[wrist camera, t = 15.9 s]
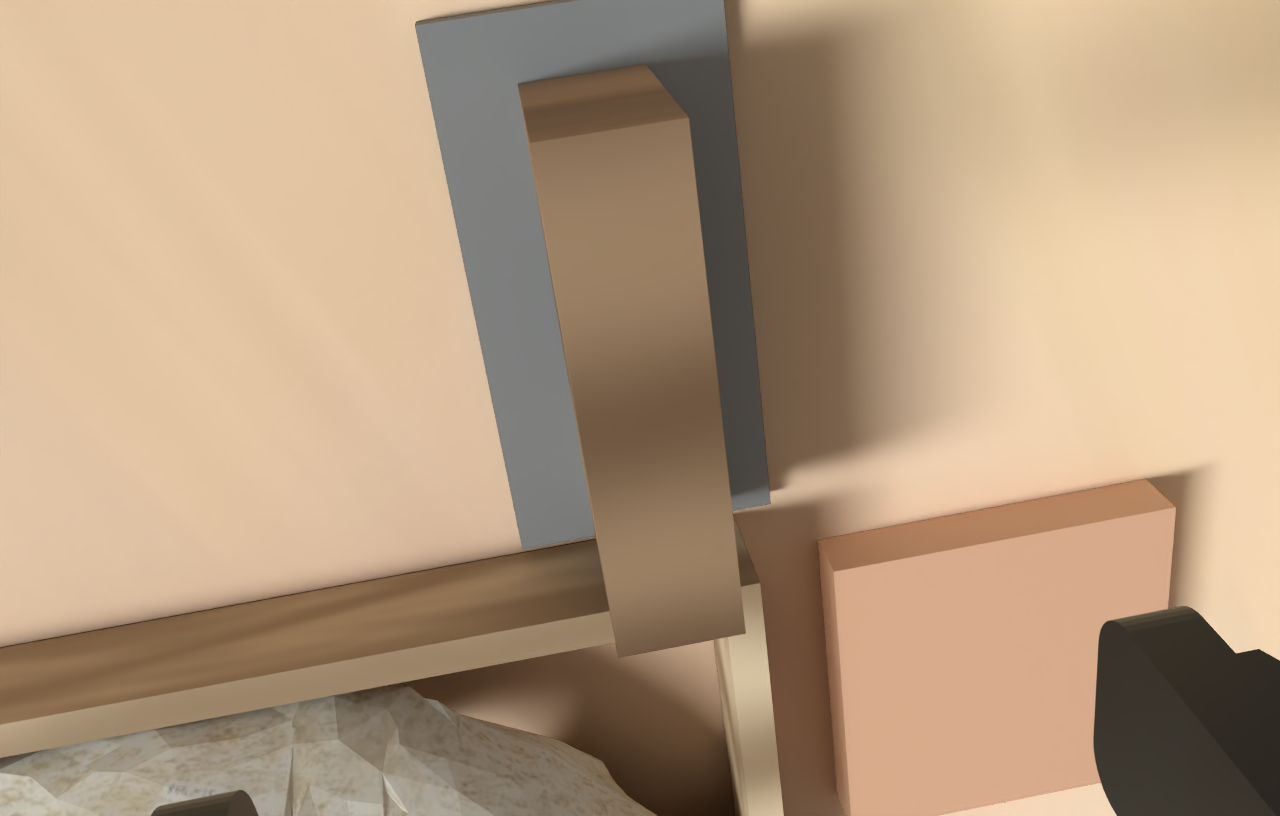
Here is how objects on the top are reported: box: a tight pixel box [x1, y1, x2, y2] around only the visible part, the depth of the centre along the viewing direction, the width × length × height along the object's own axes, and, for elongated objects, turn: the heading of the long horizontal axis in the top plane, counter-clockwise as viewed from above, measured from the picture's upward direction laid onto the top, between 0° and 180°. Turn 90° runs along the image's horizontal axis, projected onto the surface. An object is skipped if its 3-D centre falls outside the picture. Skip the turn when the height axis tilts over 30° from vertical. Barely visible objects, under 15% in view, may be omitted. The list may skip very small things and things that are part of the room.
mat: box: [415, 0, 771, 549], centre depth 30 cm, size 14×7×1 cm, turn 7°
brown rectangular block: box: [517, 64, 746, 658], centre depth 28 cm, size 12×3×6 cm, turn 7°
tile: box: [818, 479, 1176, 816], centre depth 37 cm, size 2×10×10 cm
